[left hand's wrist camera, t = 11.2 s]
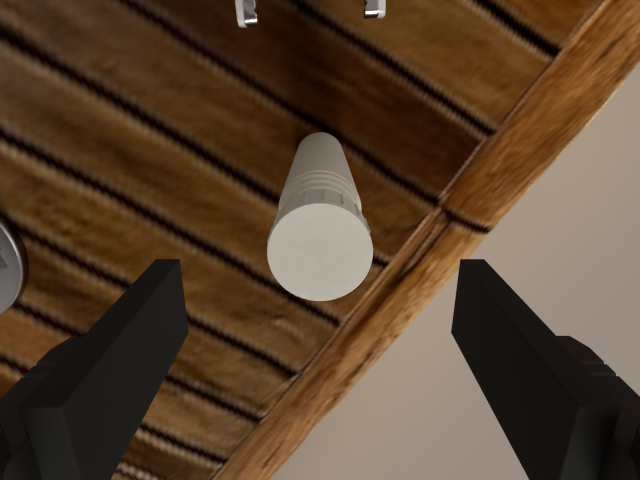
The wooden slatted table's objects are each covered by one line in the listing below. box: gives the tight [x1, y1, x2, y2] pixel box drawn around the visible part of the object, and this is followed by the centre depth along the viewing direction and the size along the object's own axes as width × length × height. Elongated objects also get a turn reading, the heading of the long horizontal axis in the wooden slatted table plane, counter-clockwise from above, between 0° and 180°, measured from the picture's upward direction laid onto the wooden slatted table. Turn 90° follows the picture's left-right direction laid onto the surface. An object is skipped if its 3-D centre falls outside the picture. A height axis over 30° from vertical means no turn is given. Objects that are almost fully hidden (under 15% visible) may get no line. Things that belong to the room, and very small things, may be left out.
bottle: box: [279, 132, 361, 211], centre depth 29 cm, size 5×5×25 cm
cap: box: [267, 188, 373, 301], centre depth 18 cm, size 4×4×2 cm
